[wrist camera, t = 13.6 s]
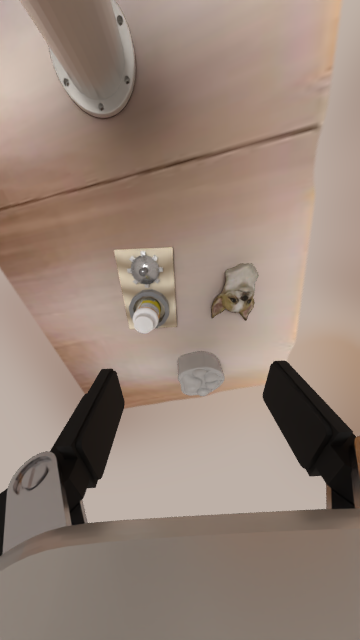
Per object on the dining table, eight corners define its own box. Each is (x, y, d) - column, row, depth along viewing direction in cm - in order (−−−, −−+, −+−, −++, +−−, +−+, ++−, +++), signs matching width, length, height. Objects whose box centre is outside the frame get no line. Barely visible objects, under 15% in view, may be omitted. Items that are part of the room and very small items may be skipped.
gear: (125, 251, 36) (119, 252, 32) (161, 250, 36) (159, 251, 32) (131, 287, 39) (127, 291, 35) (164, 285, 39) (163, 290, 35)
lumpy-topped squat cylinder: (175, 355, 50) (175, 376, 42) (216, 347, 49) (224, 367, 42) (182, 379, 55) (183, 402, 47) (220, 372, 54) (227, 394, 46)
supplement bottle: (148, 320, 43) (141, 341, 34) (135, 304, 41) (123, 321, 32) (165, 309, 42) (162, 328, 33) (152, 292, 40) (145, 307, 30)
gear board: (115, 249, 37) (113, 249, 35) (172, 247, 37) (172, 247, 35) (130, 326, 45) (129, 329, 44) (176, 324, 45) (176, 326, 44)
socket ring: (128, 290, 39) (125, 293, 37) (167, 288, 39) (167, 291, 37) (135, 325, 43) (132, 329, 41) (170, 323, 44) (169, 327, 41)
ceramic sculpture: (282, 267, 31) (257, 332, 38) (261, 260, 38) (244, 315, 46) (228, 263, 30) (213, 329, 38) (218, 256, 38) (207, 313, 45)
